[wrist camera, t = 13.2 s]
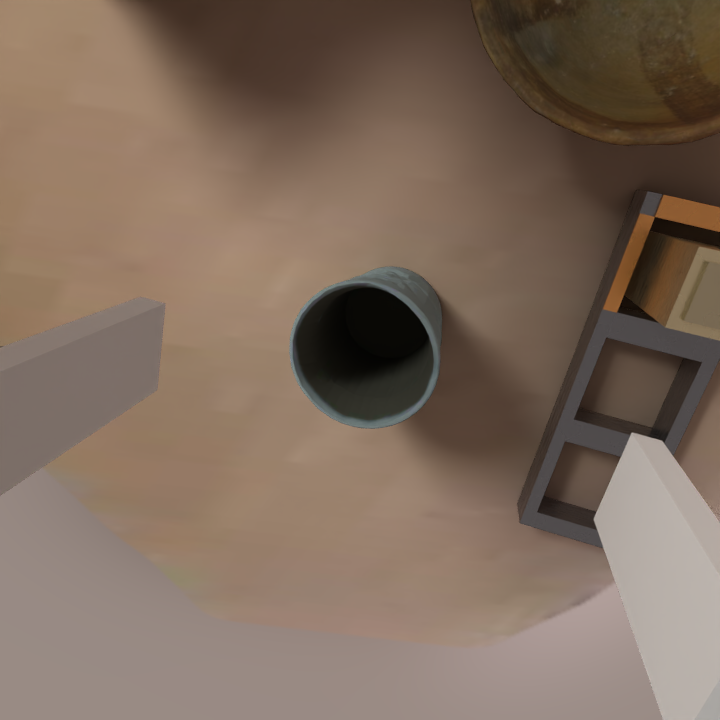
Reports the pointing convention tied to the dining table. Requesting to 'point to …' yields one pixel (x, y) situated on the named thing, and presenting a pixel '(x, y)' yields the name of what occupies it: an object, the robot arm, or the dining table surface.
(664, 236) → the beige recessed-panel block
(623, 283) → the grey compartment tray
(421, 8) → the dining table surface
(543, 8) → the bowl
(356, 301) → the grey-green cup
